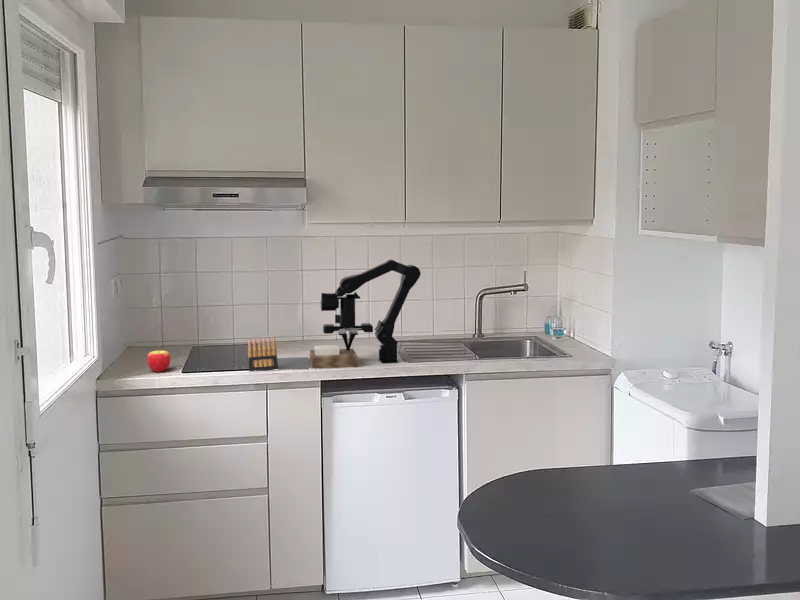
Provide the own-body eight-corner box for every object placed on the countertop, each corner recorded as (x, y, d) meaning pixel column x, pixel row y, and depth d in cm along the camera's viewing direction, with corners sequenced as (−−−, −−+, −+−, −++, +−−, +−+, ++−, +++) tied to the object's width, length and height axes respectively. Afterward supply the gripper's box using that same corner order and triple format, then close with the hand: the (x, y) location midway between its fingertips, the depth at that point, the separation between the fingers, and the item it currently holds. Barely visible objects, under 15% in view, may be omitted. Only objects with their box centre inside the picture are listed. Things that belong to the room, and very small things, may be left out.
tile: (337, 351, 317) (337, 345, 317) (339, 354, 310) (339, 348, 310) (314, 352, 316) (314, 345, 315) (315, 355, 309) (315, 349, 309)
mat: (308, 358, 324) (308, 357, 324) (311, 368, 305) (311, 367, 305) (272, 359, 322) (272, 358, 322) (273, 370, 302) (273, 369, 302)
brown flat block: (353, 358, 323) (352, 348, 323) (357, 366, 308) (357, 356, 307) (310, 360, 320) (309, 350, 320) (312, 368, 305) (312, 358, 304)
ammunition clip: (278, 367, 304) (275, 336, 303) (278, 368, 303) (275, 336, 301) (249, 370, 303) (246, 338, 301) (248, 371, 301) (246, 339, 299)
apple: (172, 368, 306) (171, 342, 305) (169, 373, 298) (168, 346, 296) (149, 369, 305) (148, 342, 304) (146, 374, 297) (144, 347, 295)
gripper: (369, 306, 322) (369, 345, 324) (321, 307, 319) (322, 347, 321) (373, 310, 311) (373, 351, 313) (324, 312, 308) (324, 352, 310)
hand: (348, 350), depth 314 cm, fingers closed
